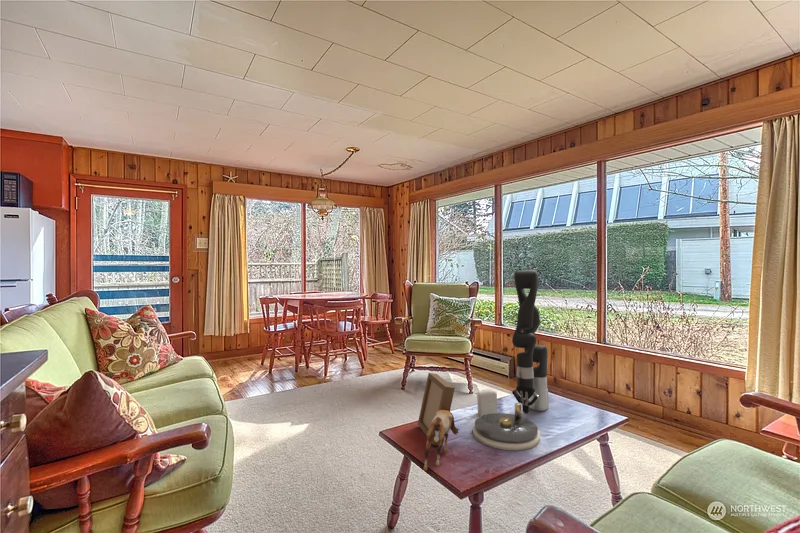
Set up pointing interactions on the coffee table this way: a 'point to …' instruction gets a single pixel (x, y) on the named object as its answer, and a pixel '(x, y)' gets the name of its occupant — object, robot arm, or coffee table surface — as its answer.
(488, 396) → the photo printer
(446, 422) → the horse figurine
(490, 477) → the coffee table surface
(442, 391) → the photo frame
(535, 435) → the handwheel
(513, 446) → the base plate
